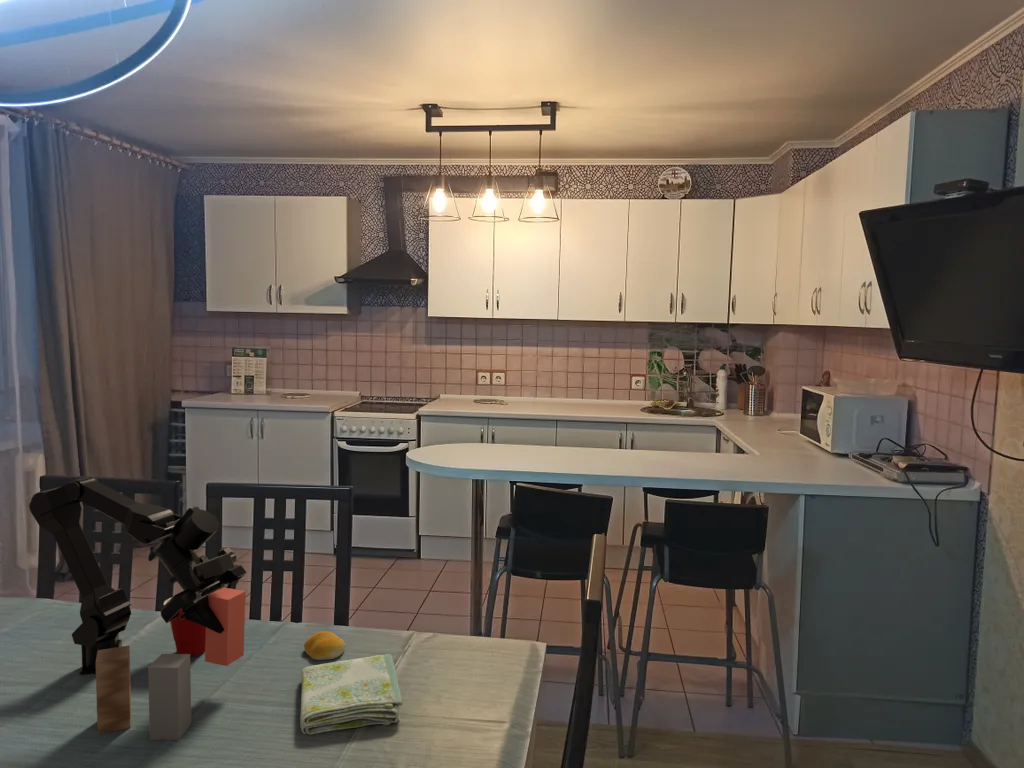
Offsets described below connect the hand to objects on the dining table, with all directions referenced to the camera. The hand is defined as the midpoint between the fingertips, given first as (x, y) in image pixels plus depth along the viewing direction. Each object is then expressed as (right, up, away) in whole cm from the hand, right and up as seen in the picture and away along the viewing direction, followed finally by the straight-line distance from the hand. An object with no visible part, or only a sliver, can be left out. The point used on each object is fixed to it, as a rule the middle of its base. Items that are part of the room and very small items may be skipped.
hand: (231, 626), depth 140 cm
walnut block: (-17, -14, -11) cm, 24 cm away
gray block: (-6, -14, -13) cm, 20 cm away
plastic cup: (-15, -11, +17) cm, 26 cm away
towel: (+23, -14, -2) cm, 28 cm away
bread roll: (+13, -12, +19) cm, 26 cm away
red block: (-2, -7, +1) cm, 7 cm away
